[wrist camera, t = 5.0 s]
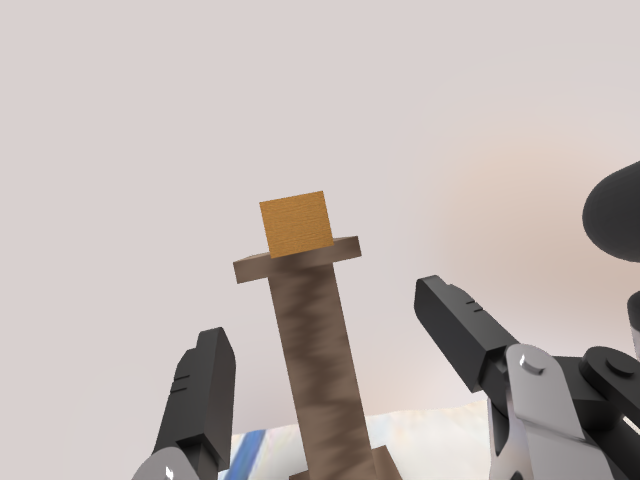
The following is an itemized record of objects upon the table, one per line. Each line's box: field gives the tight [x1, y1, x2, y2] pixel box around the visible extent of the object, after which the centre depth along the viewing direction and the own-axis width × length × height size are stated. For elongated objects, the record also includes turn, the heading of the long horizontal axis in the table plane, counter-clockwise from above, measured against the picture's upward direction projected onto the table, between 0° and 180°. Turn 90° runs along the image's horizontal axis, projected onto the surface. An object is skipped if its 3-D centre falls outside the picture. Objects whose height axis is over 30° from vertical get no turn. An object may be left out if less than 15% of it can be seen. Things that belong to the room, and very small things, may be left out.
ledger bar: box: [259, 191, 334, 259], centre depth 26 cm, size 4×20×4 cm, turn 8°
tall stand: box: [233, 236, 402, 480], centre depth 31 cm, size 14×13×32 cm
